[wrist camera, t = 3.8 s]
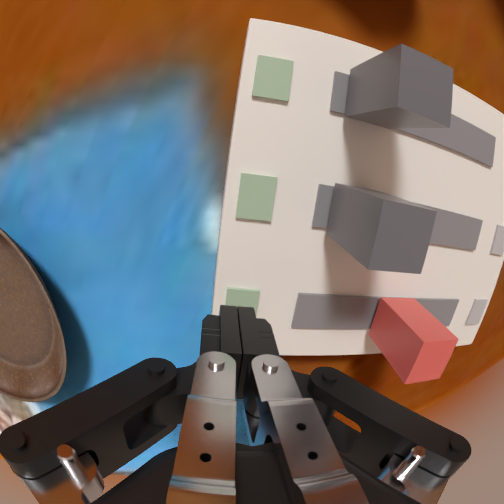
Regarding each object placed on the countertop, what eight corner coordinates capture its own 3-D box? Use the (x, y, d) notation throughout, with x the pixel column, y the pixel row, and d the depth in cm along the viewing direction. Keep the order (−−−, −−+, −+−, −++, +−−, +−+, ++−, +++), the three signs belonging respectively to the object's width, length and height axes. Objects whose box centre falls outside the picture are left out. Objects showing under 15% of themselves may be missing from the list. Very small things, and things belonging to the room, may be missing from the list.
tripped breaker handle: (413, 298, 16) (458, 338, 12) (400, 333, 17) (439, 378, 12) (380, 297, 16) (424, 342, 11) (368, 334, 16) (404, 384, 12)
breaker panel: (507, 128, 16) (577, 137, 9) (458, 331, 21) (507, 379, 14) (246, 32, 13) (265, -38, 6) (209, 331, 18) (208, 420, 11)
